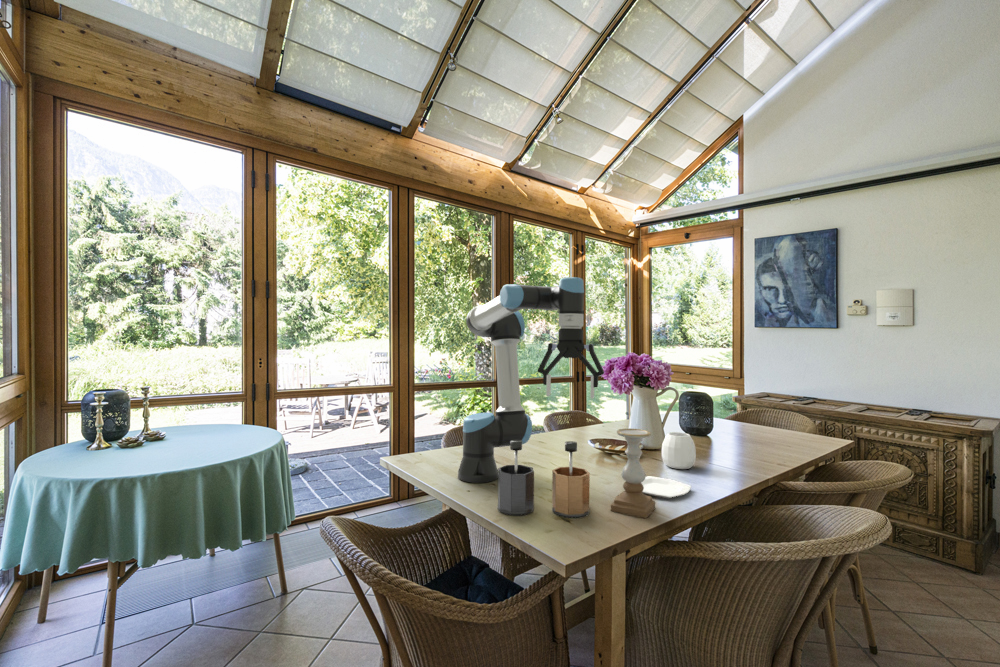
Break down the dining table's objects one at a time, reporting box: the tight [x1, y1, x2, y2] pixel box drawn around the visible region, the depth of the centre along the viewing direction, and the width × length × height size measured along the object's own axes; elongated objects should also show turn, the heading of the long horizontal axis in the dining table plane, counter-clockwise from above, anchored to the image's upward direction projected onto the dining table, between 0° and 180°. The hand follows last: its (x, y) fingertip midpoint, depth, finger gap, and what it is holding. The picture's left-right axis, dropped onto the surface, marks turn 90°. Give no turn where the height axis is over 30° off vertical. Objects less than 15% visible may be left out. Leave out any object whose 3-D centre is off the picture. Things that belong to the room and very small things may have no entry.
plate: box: [641, 475, 692, 499], centre depth 161 cm, size 19×19×2 cm
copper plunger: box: [564, 440, 578, 476], centre depth 140 cm, size 8×8×19 cm
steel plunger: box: [509, 440, 523, 474], centre depth 142 cm, size 8×8×19 cm
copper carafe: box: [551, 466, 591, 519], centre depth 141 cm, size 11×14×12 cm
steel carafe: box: [497, 464, 535, 517], centre depth 143 cm, size 11×14×12 cm
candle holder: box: [610, 428, 656, 519], centre depth 143 cm, size 11×11×24 cm
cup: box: [661, 431, 697, 470], centre depth 190 cm, size 13×13×14 cm
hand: (570, 396), depth 143 cm, fingers open, 13 cm apart
